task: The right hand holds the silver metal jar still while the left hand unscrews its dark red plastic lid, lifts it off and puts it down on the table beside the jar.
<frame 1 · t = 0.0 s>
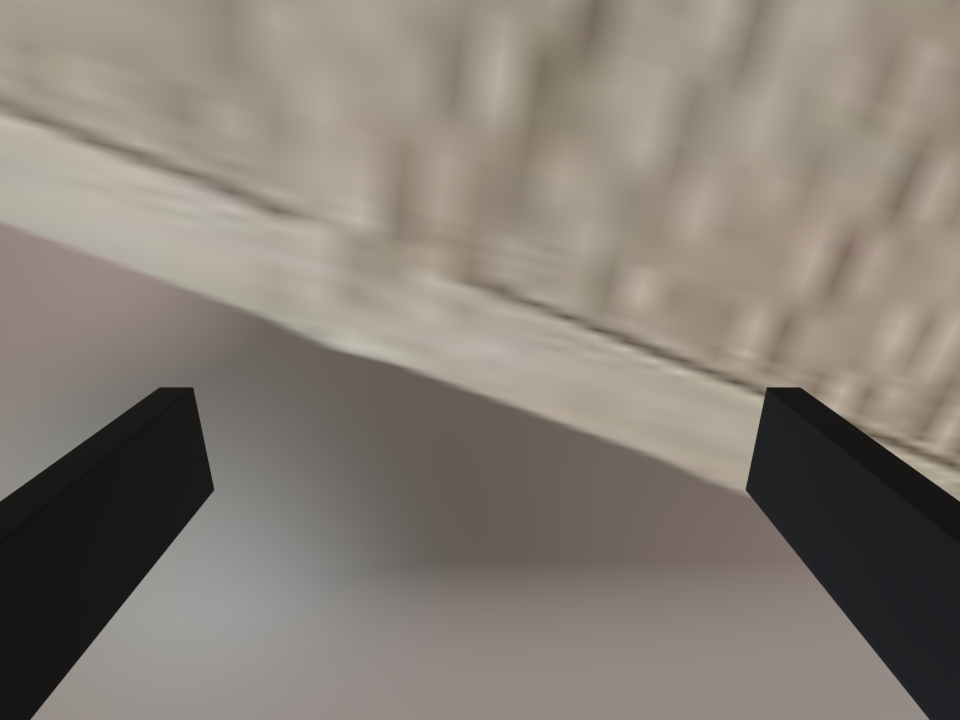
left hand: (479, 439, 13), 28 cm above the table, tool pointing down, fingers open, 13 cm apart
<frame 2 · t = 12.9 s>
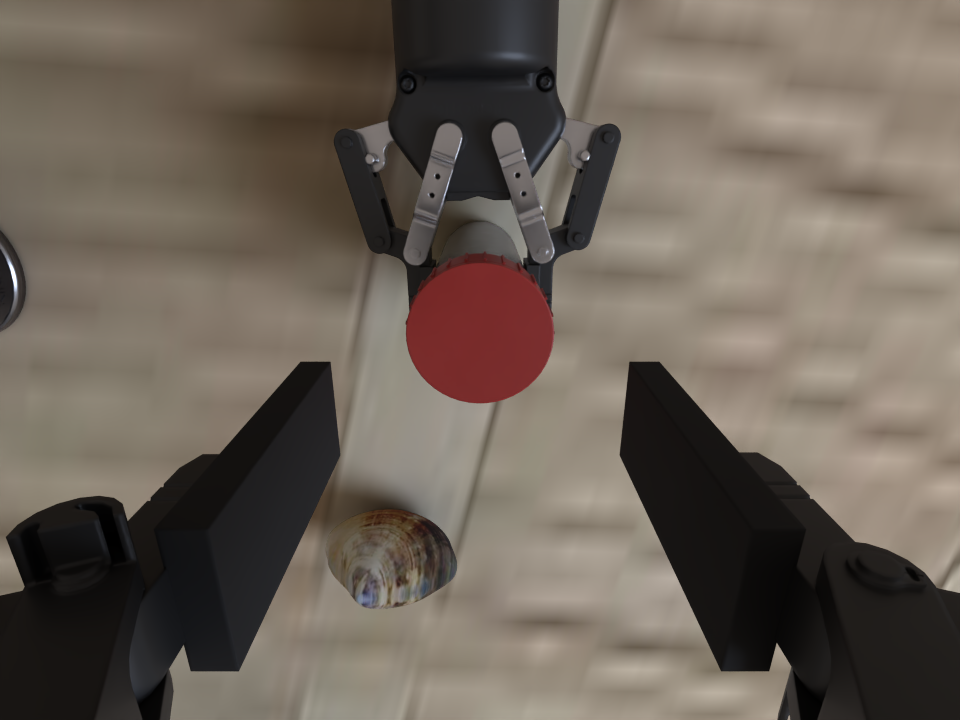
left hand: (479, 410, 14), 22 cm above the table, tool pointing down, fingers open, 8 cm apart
right hand: (480, 327, 30), fingers closed on jar, 5 cm apart
jar: (479, 259, 35), on the table, touching right hand
seashell: (398, 520, 42), on the table
lid: (480, 333, 20), point 16 cm above the table, screwed on, not yet turned
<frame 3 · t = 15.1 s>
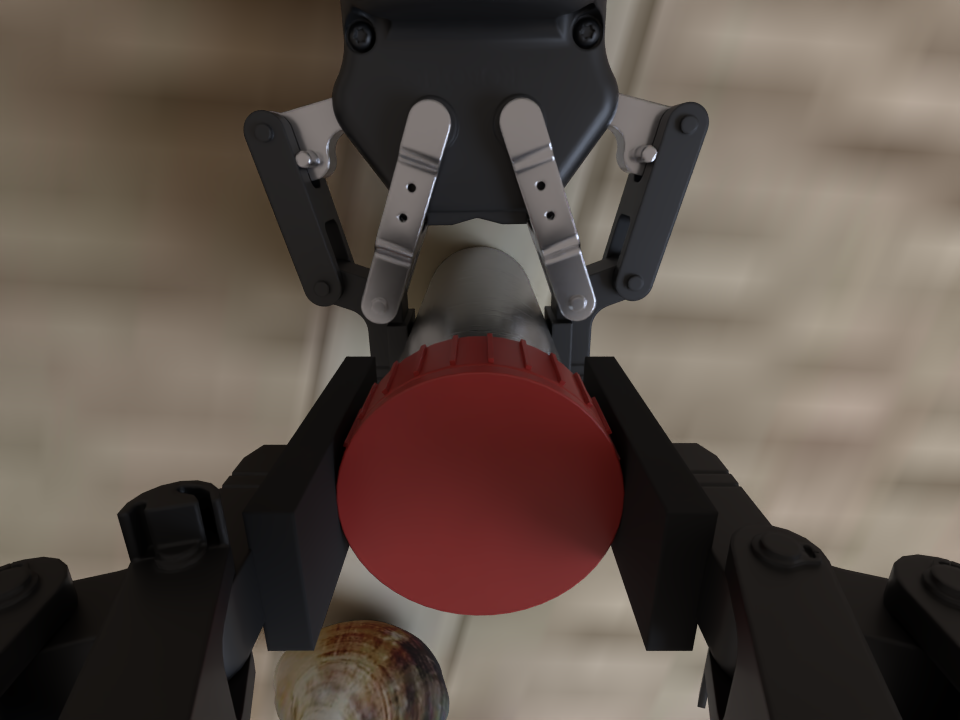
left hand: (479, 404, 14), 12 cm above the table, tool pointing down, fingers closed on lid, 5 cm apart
right hand: (480, 408, 20), fingers closed on jar, 5 cm apart
jar: (479, 298, 25), on the table, touching right hand
seashell: (374, 628, 32), on the table
lid: (480, 495, 10), point 16 cm above the table, screwed on, not yet turned, touching left hand
when the left hand's fingers open (12 cm above the table, at t = 16.2 s): lid stays where it is, point 16 cm above the table.
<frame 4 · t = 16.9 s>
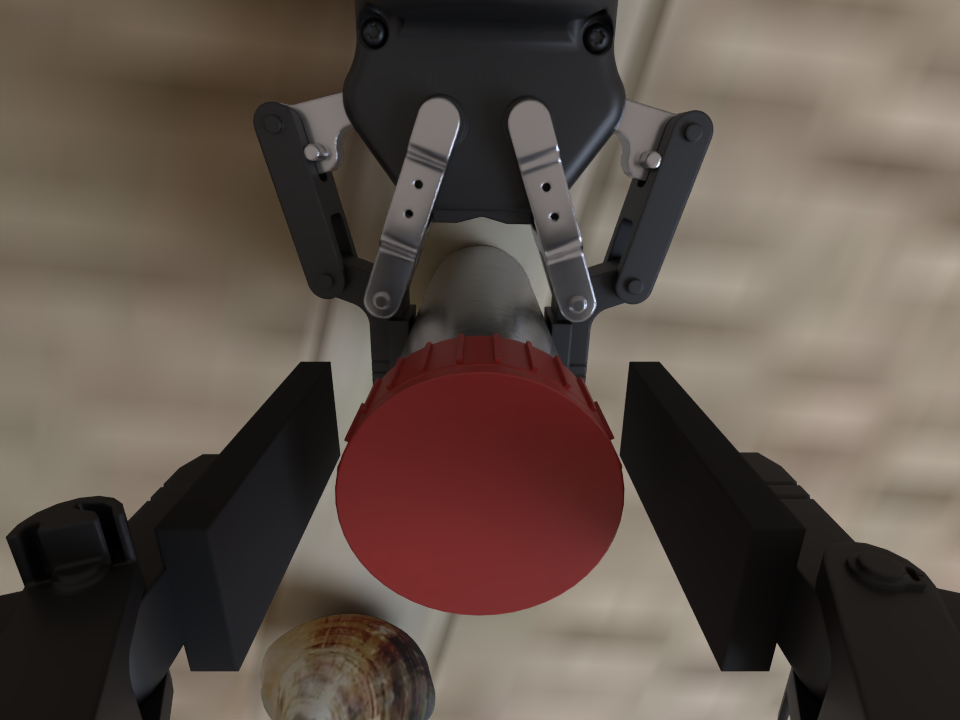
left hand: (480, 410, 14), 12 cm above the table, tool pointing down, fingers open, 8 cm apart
right hand: (477, 406, 20), fingers closed on jar, 5 cm apart
jar: (479, 296, 25), on the table, touching right hand
seashell: (363, 622, 32), on the table
lid: (479, 494, 10), point 16 cm above the table, turned 71° so far, risen 0.2 cm, still on its thread
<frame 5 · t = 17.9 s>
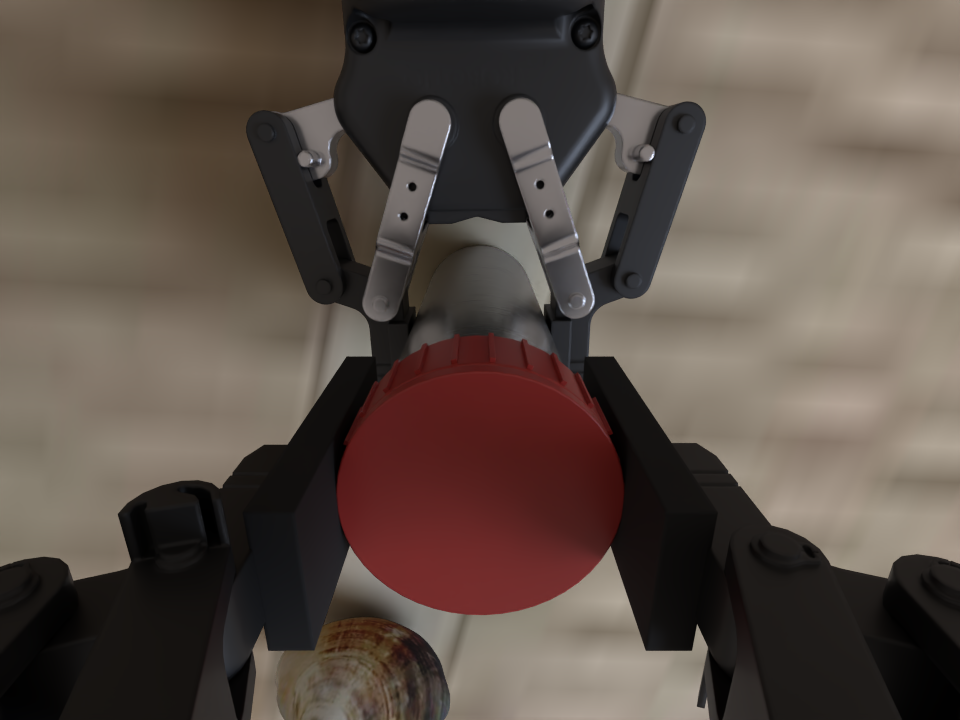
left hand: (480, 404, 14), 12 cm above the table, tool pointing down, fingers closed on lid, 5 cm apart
right hand: (480, 405, 20), fingers closed on jar, 5 cm apart
jar: (480, 296, 25), on the table, touching right hand
seashell: (375, 625, 32), on the table
lid: (480, 494, 10), point 16 cm above the table, turned 71° so far, risen 0.2 cm, still on its thread, touching left hand
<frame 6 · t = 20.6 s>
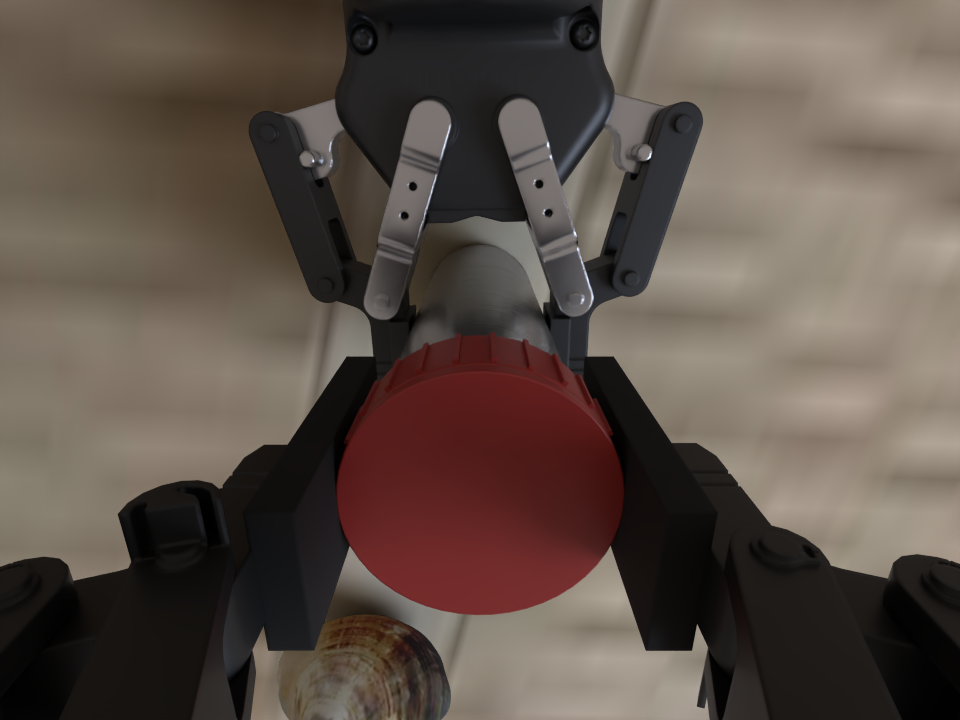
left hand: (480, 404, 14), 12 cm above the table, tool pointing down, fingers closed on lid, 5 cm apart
right hand: (480, 403, 20), fingers closed on jar, 5 cm apart
jar: (480, 295, 25), on the table, touching right hand
seashell: (377, 623, 33), on the table
lid: (480, 494, 10), point 16 cm above the table, turned 143° so far, risen 0.4 cm, still on its thread, touching left hand
when the left hand's fingers open (0 cm above the table, at t = 27.8 s): lid drops 3 cm, point 2 cm above the table.
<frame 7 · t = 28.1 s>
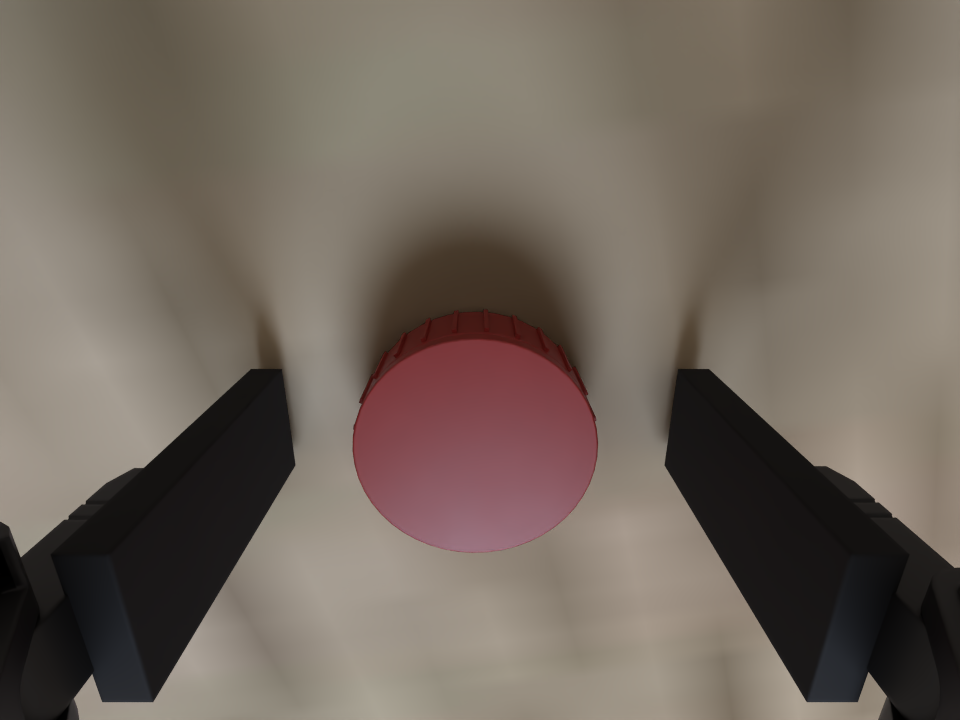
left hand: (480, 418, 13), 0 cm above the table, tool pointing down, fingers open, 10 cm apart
lid: (475, 446, 12), point 2 cm above the table, off its thread
when the right hand's fingers open (6 cm above the table, at t = 29.0 s): jar stays where it is, on the table.
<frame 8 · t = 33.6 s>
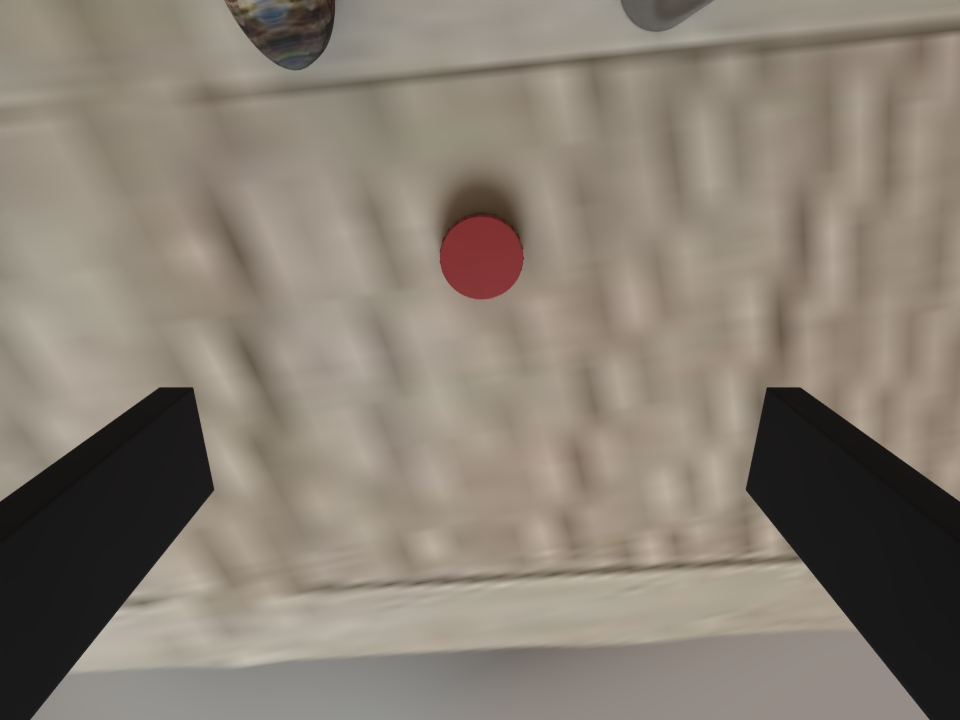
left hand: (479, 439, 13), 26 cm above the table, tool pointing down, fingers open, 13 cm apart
lid: (481, 258, 36), point 2 cm above the table, off its thread
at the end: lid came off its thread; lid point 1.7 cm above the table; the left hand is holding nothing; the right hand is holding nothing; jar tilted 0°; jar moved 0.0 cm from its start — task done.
